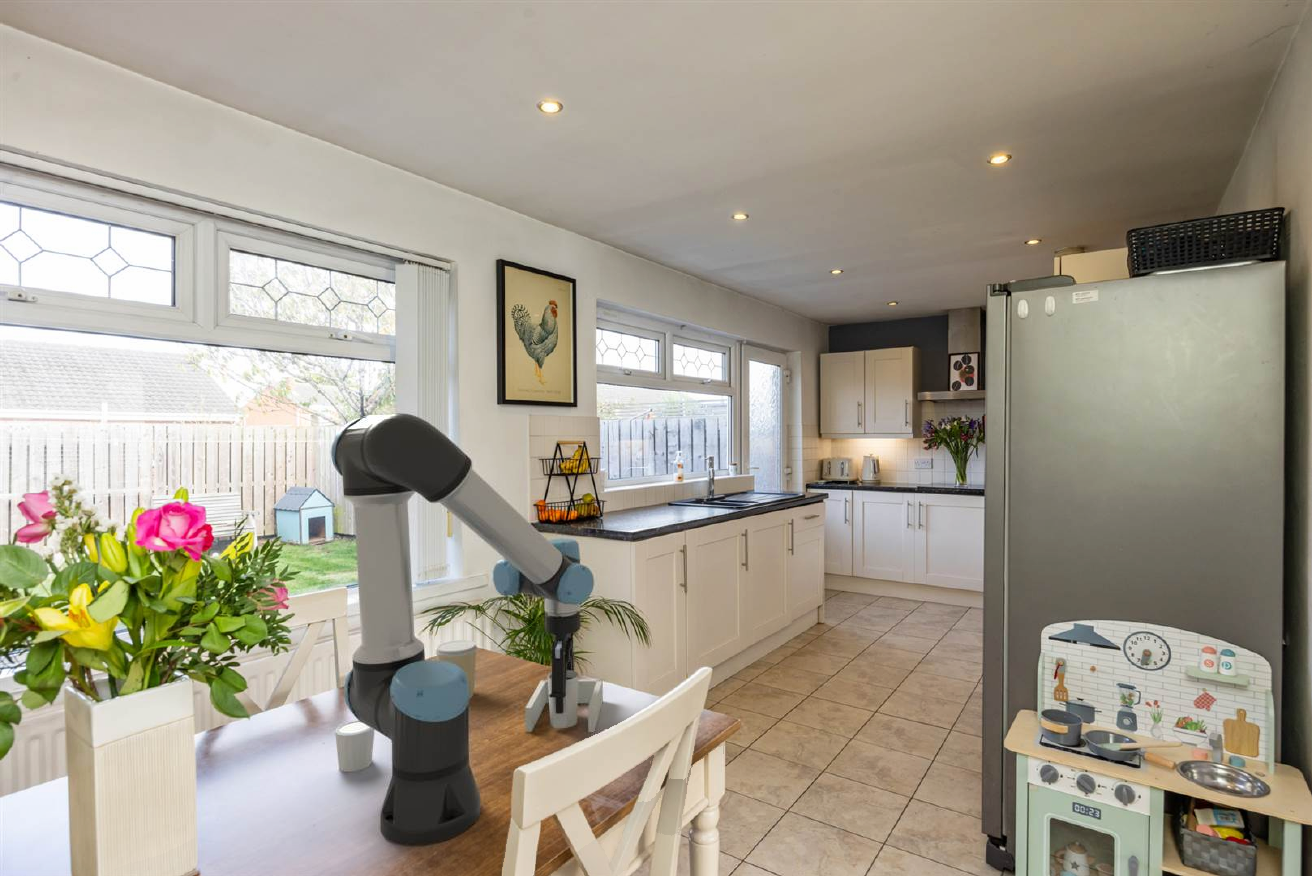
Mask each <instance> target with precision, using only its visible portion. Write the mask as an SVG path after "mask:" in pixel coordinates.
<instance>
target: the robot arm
mask: <svg viewBox="0 0 1312 876" xmlns="http://www.w3.org/2000/svg"><path fill="white" fill-rule="evenodd" d="M330 450H331V451H330V453H331V454H330V455H331V456H330V457H331V461H332V464H333V467H334V468H335V470H336V472H338V474H339V475H340V476H341V477H342V489H343V490H342V491H343V492H342V493H343V498H345V499H346V500H347V501H348V502H349V503H351V504H352V506H353V507H354V508H353V509H354V526H355V527H354V529H355V530H354V531H355V544H356V545H355V547H356V548H355V549H356V562H357V564H356V565H357V566H356V567H357V580H358V581H357V583H358V603H359V618H360V619H359V620H360V621H359V622H360V639H361V643H360V645H359V647H358V648H357V649H356V650H355V651H354V652H353V654H352V668H351V670H350V672H348V674H347V676H346V679H345V682H344V687H343V688H344V689H343V693H344V695H343V696H344V701H345V703H346V704H345V705H346V706H347V708H348V710H349V712H351V714H352V715H353V716H354V717H355V718H356V720H357V721H358V720H359V721H360V722H362V723H364V724H366V725H367V726H369V727H371V728H373V729H375V730H374V731H376V732H378V733H380V734H382V735H383V736H385V737H386V738H387V739H389V740H390V741H391V766H392V767H391V768H392V769H391V771H392V772H391V778H390V781H389V784H388V788H387V791H386V795H385V797H384V800H383V803H382V807H381V810H380V815H379V816H380V817H379V818H380V820H379V821H380V827H379V829H380V832H381V835H382V836H383V837H384V838H385V839H386V840H388V841H389V842H392V843H394V844H398V845H403V846H425V845H426V846H427V845H431V844H435V843H436V844H437V843H441V842H444V841H446V840H449V839H452V838H454V837H457V836H459V835H460V834H463V833H464V832H465V831H467V830H468V829H469V828H471V827H472V826H473V825H474V824H475V823H476V822H477V821H478V819H479V817H480V815H481V810H482V807H481V805H482V804H481V793H480V790H479V788H478V785H477V783H476V779H475V777H474V774H473V771H472V768H471V765H470V751H469V750H470V743H469V742H470V738H469V737H470V733H469V732H470V731H469V730H470V729H469V727H470V724H469V721H470V717H469V716H470V713H469V712H470V710H469V709H470V707H469V706H470V705H469V704H470V703H469V702H470V699H471V698H470V695H469V688H468V680H467V676H466V674H465V672H464V671H463V670H462V669H461V668H460V667H459V666H457V665H455V664H452V663H449V662H445V661H442V662H438V661H437V659H436V660H433V659H432V660H431V659H430V660H428V659H427V660H426V655H425V644H424V642H423V641H421V640H420V639H418V638H417V637H416V636H415V624H414V623H415V622H414V620H415V619H414V602H413V583H412V579H413V578H412V564H411V562H412V561H411V543H410V542H411V541H410V523H409V520H410V519H409V504H408V503H409V501H410V499H411V498H412V497H413V496H414V494H415V493H417V494H419V496H422V497H423V498H424V499H425V500H426V501H428V502H429V503H430V504H437V503H440V504H441V505H442V506H443V507H444V508H446V510H448V511H449V512H450V513H451V514H452V515H454V516H455V518H457V519H458V520H460V521H461V522H462V523H463V524H464V525H465V526H467V528H468V529H470V530H471V531H472V532H473V533H475V534H476V536H478V537H479V538H481V539H482V540H483V541H484V542H485V543H486V544H487V545H488V546H489V547H491V548H492V549H493V550H495V551H496V552H497V553H498V554H499V555H500V556H502V558H500V559H499V560H498V561H497V562H496V563H495V564H494V566H493V571H492V581H493V586H494V588H495V590H496V591H497V593H498V594H499V595H501V596H503V597H508V596H517V595H523V594H525V595H528V596H533V597H537V598H542V599H544V612H545V615H544V629H545V632H546V633H547V634H552V635H554V639H553V640H552V643H551V650H550V651H551V673H552V693H551V694H549V697H553V709H554V727H553V728H554V729H567V728H568V727H567V695H566V676H567V670H571V671H575V661H574V658H575V657H574V654H575V653H574V635H575V633H577V632H579V630H581V613H580V612H579V611H580V609H581V604H583V603H585V602H586V601H588V599H589V598H590V596H591V595H592V593H593V591H594V585H595V578H594V575H593V573H592V571H591V569H590V568H589V567H588V566H586V565H583V564H581V563H580V562H581V556H580V555H581V554H580V547H579V542H578V541H577V540H575V539H572V538H556V539H547V538H546V537H545V536H544V535H543V534H542V533H541V532H540V531H538V529H536V528H535V527H534V526H533V525H532V524H531V523H530V522H529V521H528V520H527V519H526V518H525V517H524V515H522V514H520V513H519V511H518V510H516V509H515V508H514V507H513V506H512V505H511V503H509V502H508V501H507V500H506V499H505V498H504V497H502V496H501V495H500V494H499V492H497V491H496V490H495V489H494V488H493V487H492V486H491V485H490V484H489V483H487V481H485V479H484V478H483V477H481V476H480V475H479V474H478V473H477V472H476V471H475V470H474V469H473V460H472V459H471V458H470V457H469V456H468V455H467V454H466V453H465V452H464V451H463V450H462V449H461V448H460V447H459V446H458V445H456V444H455V442H453V441H452V440H451V439H450V438H448V437H447V436H446V435H445V434H444V433H443V432H442V431H440V430H439V429H438V428H437V427H436V426H434V425H432V424H431V423H430V422H428V421H427V420H425V419H424V418H421V417H419V416H416V415H414V414H409V413H404V412H403V413H401V412H399V413H398V412H397V413H392V414H381V415H380V414H379V415H374V414H372V415H365V416H363V417H359V418H356V419H354V420H352V421H350V422H348V423H346V424H345V425H343V427H342V428H340V430H338V432H337V434H336V435H335V437H334V438H333V442H332V444H331V449H330Z"/></svg>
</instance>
